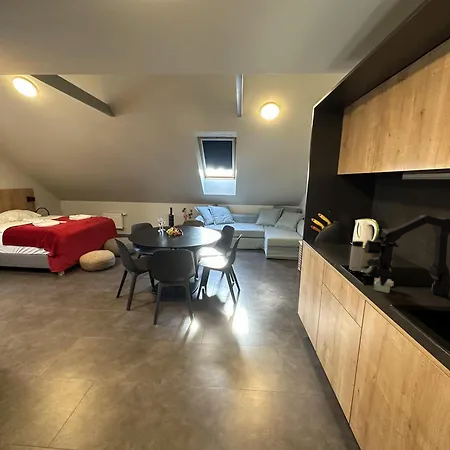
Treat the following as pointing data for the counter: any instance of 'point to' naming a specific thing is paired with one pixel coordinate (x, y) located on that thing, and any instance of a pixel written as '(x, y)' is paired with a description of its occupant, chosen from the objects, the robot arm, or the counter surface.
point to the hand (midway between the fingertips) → (382, 283)
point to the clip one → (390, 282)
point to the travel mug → (356, 255)
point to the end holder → (382, 287)
